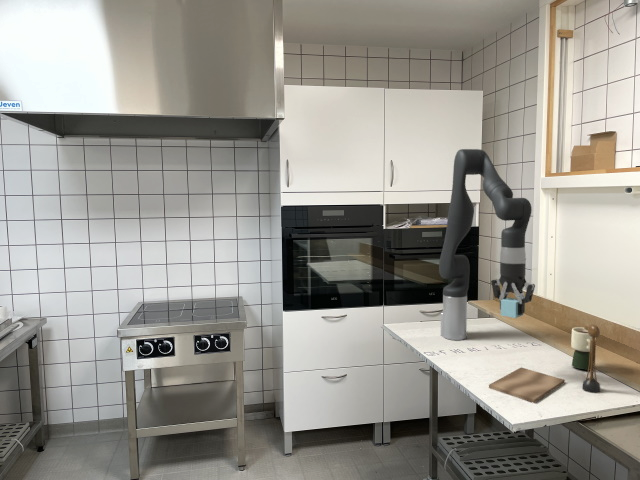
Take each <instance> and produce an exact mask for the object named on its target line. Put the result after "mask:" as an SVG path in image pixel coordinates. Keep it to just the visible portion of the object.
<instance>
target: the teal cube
mask: <svg viewBox="0 0 640 480" xmlns="http://www.w3.org/2000/svg"><path fill="white" fill-rule="evenodd" d="M518 304H519V302H518V299H517V298H514V297H507V298H506V299H503V300H501V310H500V316H502V317H509V318H514V319H516V318H519V317H522V316H523V315H518Z"/></svg>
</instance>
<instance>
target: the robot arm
mask: <svg viewBox="0 0 640 480" xmlns="http://www.w3.org/2000/svg"><path fill="white" fill-rule="evenodd" d="M452 171H453V172H452V186H451V187H452V188H451V189H452V190H451V195H450V203H449V208H448V212H447V213H448V214H447V222H446V229H445V236H444V242H443V246H442V249H441V253H440V258H439V263H438V272H439V275H440V277H441V278H442V279H444V280H453V281H452V282H450V283H449V284H448V285H446V286H444V287H443V289H442V312H441V313H440V336H441V337H443V338H445V339H447V340H452V341H461V340H465V339H467V334H468V333H467V326H468V324H467V323H468V322H467V321H468V316H467V315H468V290H469V287H470V285H469V284H470V271H471V269H470V268H471V266H470V261H469V258H468V256H466V255H464V254H456V252H457V250H458V249H457V248H458V247H459V245H460V243H461V242H462V241H463V240H464V238H465V237H466V236H467V234H468V233H469V232H470V231H471V228H472V225H473V220H474V215H475V207H474V204H473V202H472V199H471V197H470V196H469V193H468V191H467V189H466V188H467V187H466V178H467V175H468V176H469V175H470V176H471V175H472V176H476V175H480V176H481V177H482V178H483V180H482V190H483V192H484V193H485V195H486V197H488V199H489V200H490V201H491V203H492V205H493V209H494V212H495V215H496V217H497V218H498V219H500V220H501V221H504V222H505V221H508V222H509V221H513V224H512V225H511V226H509V227H506V228H503V229H502V230H501V236H500V238H501V239H500V242H501V243H500V251H499V252H500V255H499V256H500V258H499V259H500V260H499V274H500V277H499V279H498V278H495V279H492V280H491V281H490V283H491V286H492V293H493V297H494V298H495V299H498V300H499V309H500V311H501V300H503V299H506V298H508V296H509V294H510V293H512V294H514V296H515V297H516V299H518V302H519V304H518V315H522V316H524V314H525V310H526V307H525V306H526V304H528V303H529V302H532V299H533V295H534V291H535V288H536V285H535V284H534V283H529V282H527V280H526V262H527V261H526V260H527V256H526V232H527V229H528V225H529V222H530V220H531V215H532V211H533V210H532V204H531V202H530V200H528V198H526V197H514V193H513V190H512V189H511V187H510V186H509V185H508V184H507V183H506V182H505V180H503V179H502V178H501V176H500V175H499V173H498V172H497V170H496V168H495V165H494V164H493V162H492V160H491V159H490V156H489V155H488V154H487V152H486V151H484V150H483V149H479V148H472V149H471V148H462V149H459V150H457V152H456V154H455V156H454V160H453V170H452ZM500 285H501V287H502V288H501V287H500ZM524 288H525V290H526V291H525V292H524Z"/></svg>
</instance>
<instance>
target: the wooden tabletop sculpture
mask: <svg viewBox="0 0 640 480" xmlns="http://www.w3.org/2000/svg"><path fill="white" fill-rule="evenodd" d="M583 328H584V329H585V330H587V331H588V334H589V335H590V336H591V337H592V340H590V358H589V367H588V369H587V374H586V377H585V379H584V380H583V382H582V386H581V387H582V388H581V389H582V390H583V391H585V392H587V393H592V394H593V393H594V394H598V393H600V392H601V385H600V382H599V381H598V378H597V373H596V370H597V369H596V351H597V349H596V347H597V338H598V337H599V336H600V334H601V330H600V328H599V326H597V325H596V324H594V323H593V324H592V323H591V324H589V326H587V325H586V326H584V327H583ZM595 338H596V340H595ZM591 346H592V349H591ZM590 362H591V368H590ZM589 369H590V370H589Z"/></svg>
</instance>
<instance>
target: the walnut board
mask: <svg viewBox="0 0 640 480" xmlns="http://www.w3.org/2000/svg"><path fill="white" fill-rule="evenodd" d="M565 383H566V380H565V379H564V378H561V377H560V378H559V377H556V376H554V375H553V376H552V375H549V374H545V373H542V372H540V371H535V370H532V369H528V368H524V367H522V366H521V367H519V368H517V369H515V370H514V371H512V372H510V373H507V374H506V375H504V376H503V377H501V378H499V379H497V380H495V381H493V382H491V383H489V384H488V389H492V390H494V391H496V392H500V393H503V394H506V395H509V396H512V397H514V398H518V399H521V400H524V401H527V402H529V401H530V402H529V403H532V402H533V403H532V404H536V403H537V402H538V401H539V400H541V399H542V398H544V397H545V396H547V395H548V394H550V393H551V392H553V391H554V390H556V389H558V388H559V387H560V386H562V385H564V384H565Z"/></svg>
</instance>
